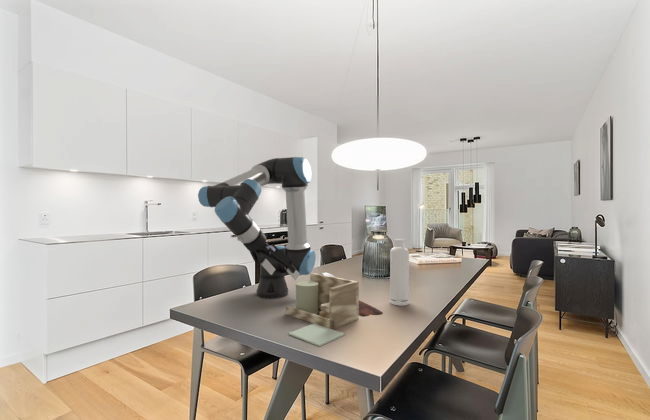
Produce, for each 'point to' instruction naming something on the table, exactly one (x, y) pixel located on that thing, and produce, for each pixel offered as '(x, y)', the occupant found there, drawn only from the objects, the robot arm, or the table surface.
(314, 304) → the can
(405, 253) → the bottle
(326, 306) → the offcut stack
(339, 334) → the mat
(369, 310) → the wooden tablet
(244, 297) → the table surface
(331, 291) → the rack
